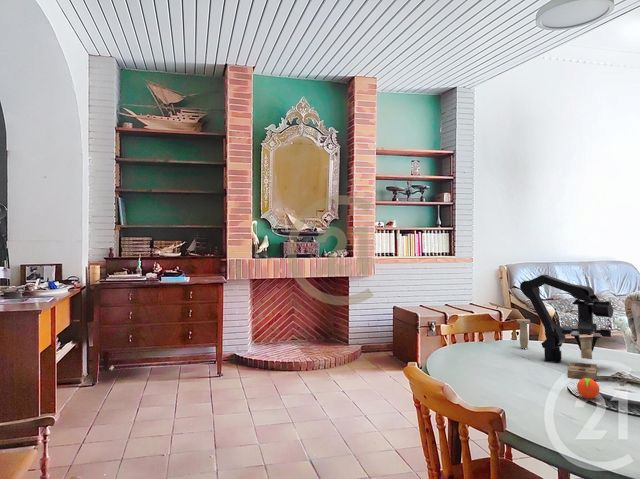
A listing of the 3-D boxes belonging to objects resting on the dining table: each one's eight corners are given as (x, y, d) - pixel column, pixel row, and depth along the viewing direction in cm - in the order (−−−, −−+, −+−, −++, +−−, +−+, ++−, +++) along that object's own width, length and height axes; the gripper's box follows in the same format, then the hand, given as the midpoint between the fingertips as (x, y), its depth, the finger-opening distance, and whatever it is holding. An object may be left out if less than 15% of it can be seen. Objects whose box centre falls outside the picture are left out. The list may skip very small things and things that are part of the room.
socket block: (567, 377, 190) (567, 370, 190) (570, 368, 203) (570, 361, 203) (596, 380, 185) (596, 373, 185) (597, 371, 198) (596, 364, 198)
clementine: (599, 403, 160) (598, 382, 160) (576, 400, 164) (575, 379, 164) (599, 396, 167) (599, 376, 167) (577, 393, 171) (577, 374, 171)
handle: (531, 350, 239) (530, 320, 239) (517, 349, 241) (516, 320, 241) (530, 348, 243) (530, 319, 243) (517, 347, 246) (516, 318, 246)
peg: (581, 358, 205) (580, 340, 205) (581, 356, 208) (581, 338, 208) (591, 359, 203) (591, 340, 203) (592, 357, 206) (591, 339, 206)
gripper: (560, 316, 204) (561, 352, 204) (610, 319, 194) (611, 357, 194) (562, 313, 213) (563, 347, 213) (610, 315, 203) (611, 351, 203)
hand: (586, 350), depth 206 cm, fingers closed on peg, 4 cm apart
